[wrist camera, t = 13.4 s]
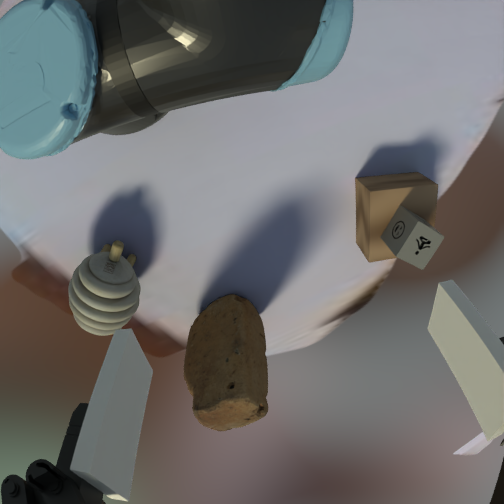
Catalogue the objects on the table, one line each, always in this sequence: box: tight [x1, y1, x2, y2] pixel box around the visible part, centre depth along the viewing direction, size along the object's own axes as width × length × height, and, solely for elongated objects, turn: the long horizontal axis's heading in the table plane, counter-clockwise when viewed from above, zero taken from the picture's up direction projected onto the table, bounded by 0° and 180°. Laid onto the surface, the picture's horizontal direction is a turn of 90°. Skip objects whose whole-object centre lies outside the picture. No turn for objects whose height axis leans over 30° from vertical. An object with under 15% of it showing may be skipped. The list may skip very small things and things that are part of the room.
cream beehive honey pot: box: [69, 240, 140, 335], centre depth 42 cm, size 11×17×11 cm, turn 158°
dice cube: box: [380, 205, 444, 270], centre depth 37 cm, size 5×5×5 cm
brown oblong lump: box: [184, 294, 268, 431], centre depth 43 cm, size 11×8×20 cm
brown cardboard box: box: [355, 172, 438, 262], centre depth 41 cm, size 10×10×6 cm
